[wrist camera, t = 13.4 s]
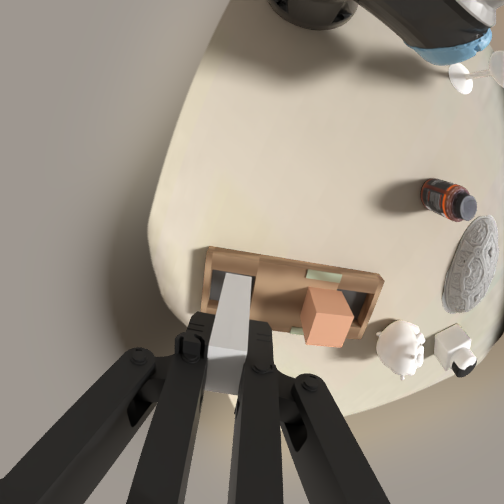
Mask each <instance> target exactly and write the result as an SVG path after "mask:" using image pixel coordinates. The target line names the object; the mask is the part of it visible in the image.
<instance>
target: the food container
mask: <svg viewBox="0 0 504 504" xmlns="http://www.w3.org/2000/svg"><path fill="white" fill-rule="evenodd" d="M498 256H499V247H498V229H497V224H496V222H495V220H494V218H493V217H492V216H491V215H488V216H479V217H477V218H476V219H474V221H472V223H471V224H470V225H469V226H468V228H467V229H466V231H465V233H464V235H463V236H462V239H461V241H460V243H459V246H458V248H457V251H456V253H455V256H454V259H453V261H452V264H451V267H450V269H449V270H448V272H447V275H446V280H445V285H444V289H445V290H444V293H443V296H442V304H443V307H444V310H445V311H446V312H448V313H452V314H455V313H457V312H458V313H462V312H468V311H470V310H471V309H472V308H474V307H475V306H476V305H477V304H478V303H479V302H480V301H481V300H482V299H483V298H484V296H485V295H486V293H487V291H488V288H489V286H490V283H491V281H492V278H493V277H494V274H495V271H496V265H497V261H498ZM464 260H465V263H464ZM466 271H467V272H466ZM452 302H453V303H454V304H452ZM461 303H462V304H461ZM460 304H461V305H460ZM455 308H456V309H457V310H456V309H455ZM458 309H459V310H458ZM462 309H463V310H462ZM456 311H457V312H456Z"/></svg>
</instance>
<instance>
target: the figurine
mask: <svg viewBox="0 0 504 504" xmlns="http://www.w3.org/2000/svg"><path fill="white" fill-rule="evenodd" d="M419 332H420V330H419V327H418V326H417V325H415V324H413V323H410V322H405V321H403V320H398V321H395V322H393V323H391V324H390V325H389V326H387V327H386V328H385V329H384V331H383V332H377V333H376V335H377V336H379V339H378V341H377V346H376V350H377V354H378V357H379V359H380V360H381V361H382V363H383V364H384V365H385V366H387V367H388V368H390V369H391V370H392V371H393V372H394V373H395V374H398V375H401V380H404V378H405V377H404V378H403V376H404V375H410V376H411V375H413V374H414V373H415V370H416V368H418V367H421V366H422V363H423V354H424V347H423V346H422V344H423V343H424V342H425V339H424V336H423V334H422V333H419ZM419 343H421V345H420V344H419Z"/></svg>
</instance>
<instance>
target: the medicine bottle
mask: <svg viewBox="0 0 504 504" xmlns="http://www.w3.org/2000/svg"><path fill="white" fill-rule="evenodd" d="M470 345H471V338H470V337H469V336H468V335H467V334H466V332H465V331H464V330H463V329H462V328H461V327H460V326H459V324H455V325H453V326H451V327H449V328H447V329H445V330H443V331H441V332H439V333H437V334H435V345H434V355H435V356H436V358H437V359H438V361H439V362H440V364H441V365H442V367H443V368H444V370H445V371H448V370H450V369H452V370H453V371H454V373H455V374H456V376H457V377H464V376H466V375H468V374H469V373H470V372H471V371H472V370H473V369H474V367H475V366H476V363H477V358H476V357H475V355H474V354H473V353H472V352H471V350H470Z"/></svg>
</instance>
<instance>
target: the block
mask: <svg viewBox="0 0 504 504" xmlns="http://www.w3.org/2000/svg"><path fill="white" fill-rule="evenodd" d="M300 318H301V323H302V328H303V333H304V338H305V342H306V345H317V346H328V347H340V348H342V345H343V343H344V341H345V338H346V336H347V333H348V331H349V329H350V326H351V324H352V321H353V319H354V315H353V313H352V311H351V309H350V307H349V305H348V303H347V301H346V299H345V297H344V295H343V293H342V291H336V290H329V289H322V288H315V287H308V290H307V294H306V297H305V301H304V304H303V308H302V311H301V314H300Z"/></svg>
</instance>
